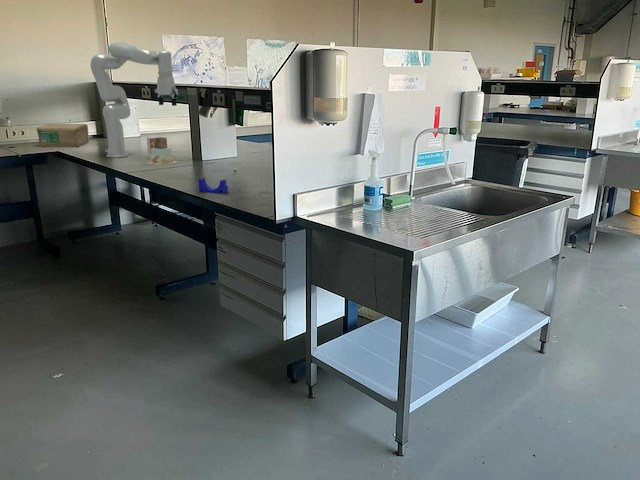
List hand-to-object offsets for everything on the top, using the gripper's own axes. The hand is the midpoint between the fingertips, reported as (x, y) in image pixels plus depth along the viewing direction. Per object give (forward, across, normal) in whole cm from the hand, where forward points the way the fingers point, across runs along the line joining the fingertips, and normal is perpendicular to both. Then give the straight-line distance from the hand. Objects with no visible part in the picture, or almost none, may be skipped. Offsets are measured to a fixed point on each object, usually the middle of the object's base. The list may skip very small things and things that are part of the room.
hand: (167, 105), depth 304 cm
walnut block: (+24, +1, -9) cm, 25 cm away
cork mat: (+32, +1, -9) cm, 34 cm away
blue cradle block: (+33, +73, -55) cm, 97 cm away
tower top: (+28, +1, -9) cm, 29 cm away
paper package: (+33, -111, +14) cm, 116 cm away
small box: (+32, -13, +1) cm, 35 cm away
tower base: (+32, +1, -9) cm, 33 cm away
